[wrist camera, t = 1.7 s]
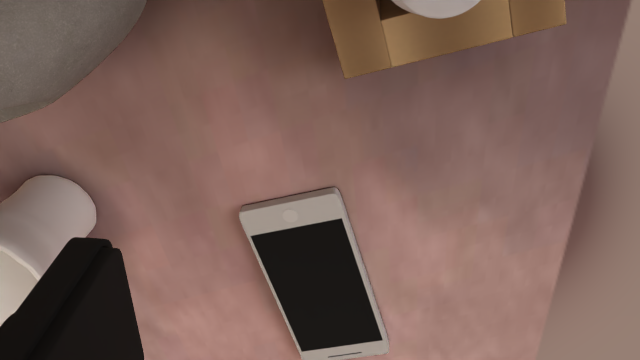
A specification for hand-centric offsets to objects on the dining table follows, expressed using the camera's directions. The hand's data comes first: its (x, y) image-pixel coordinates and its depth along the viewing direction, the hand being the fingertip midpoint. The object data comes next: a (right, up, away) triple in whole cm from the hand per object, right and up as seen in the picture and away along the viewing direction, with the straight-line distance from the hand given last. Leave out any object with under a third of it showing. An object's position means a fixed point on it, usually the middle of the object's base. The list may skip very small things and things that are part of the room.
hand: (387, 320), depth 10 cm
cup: (-20, +1, +31) cm, 36 cm away
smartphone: (-1, -5, +32) cm, 33 cm away
